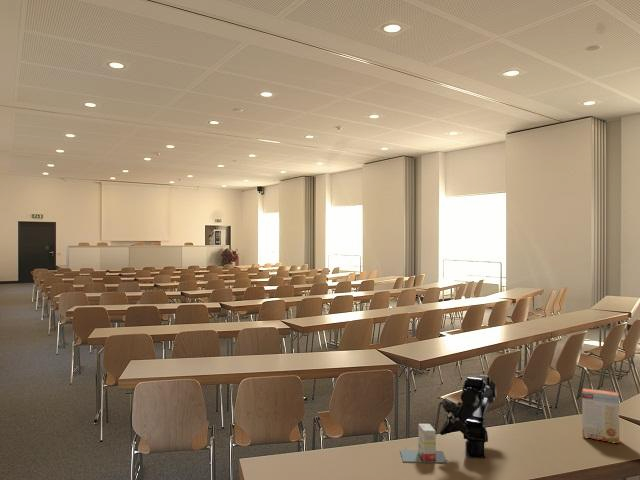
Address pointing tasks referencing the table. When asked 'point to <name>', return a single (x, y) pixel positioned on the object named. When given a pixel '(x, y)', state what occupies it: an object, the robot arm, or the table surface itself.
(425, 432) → the ink box
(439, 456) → the flat gray angled bracket
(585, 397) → the cracker box
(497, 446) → the table surface
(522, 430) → the table surface
